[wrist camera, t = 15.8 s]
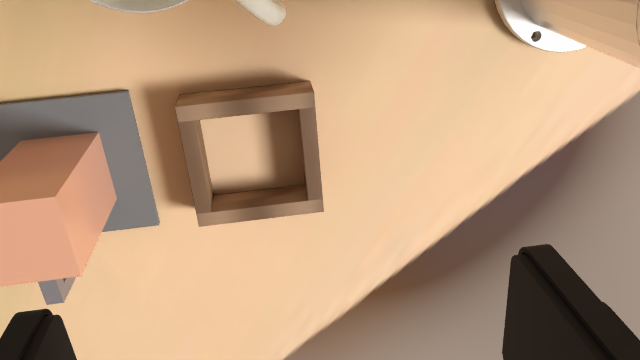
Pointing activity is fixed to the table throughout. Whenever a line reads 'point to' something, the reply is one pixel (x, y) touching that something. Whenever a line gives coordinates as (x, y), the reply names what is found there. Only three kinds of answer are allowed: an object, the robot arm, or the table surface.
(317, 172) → the frame
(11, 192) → the peach block with tab
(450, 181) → the table surface
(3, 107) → the rubber mat
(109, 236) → the table surface
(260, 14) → the pitcher
